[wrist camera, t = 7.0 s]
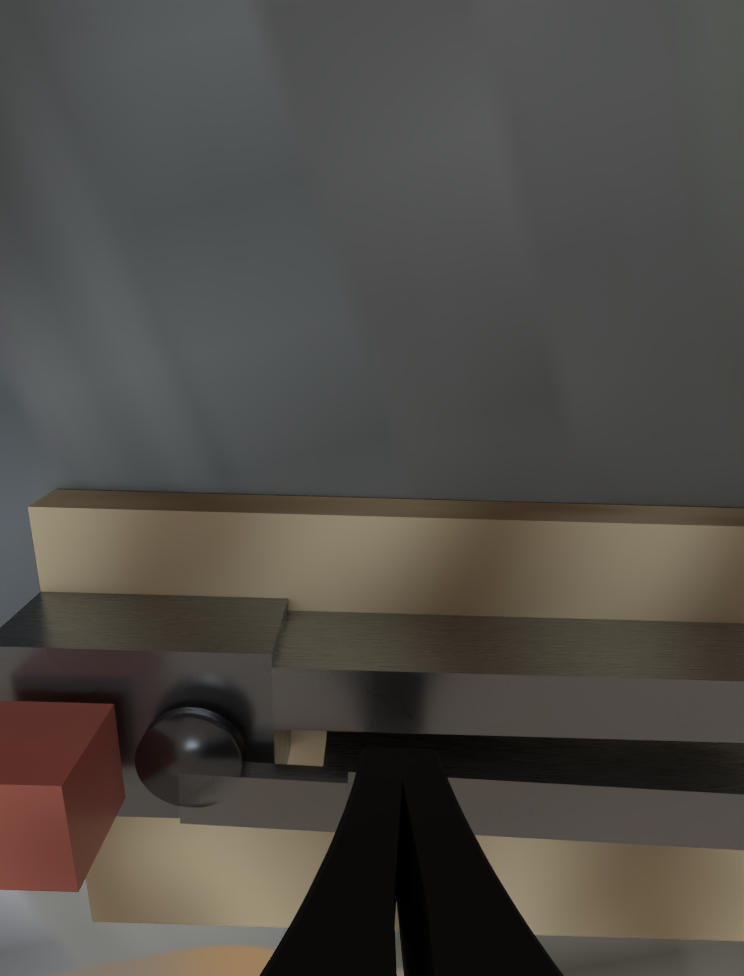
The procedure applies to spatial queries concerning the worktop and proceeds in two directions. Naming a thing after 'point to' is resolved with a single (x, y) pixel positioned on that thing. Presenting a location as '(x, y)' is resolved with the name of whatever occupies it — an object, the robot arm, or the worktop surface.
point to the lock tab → (56, 791)
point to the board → (403, 590)
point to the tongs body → (369, 672)
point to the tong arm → (462, 783)
